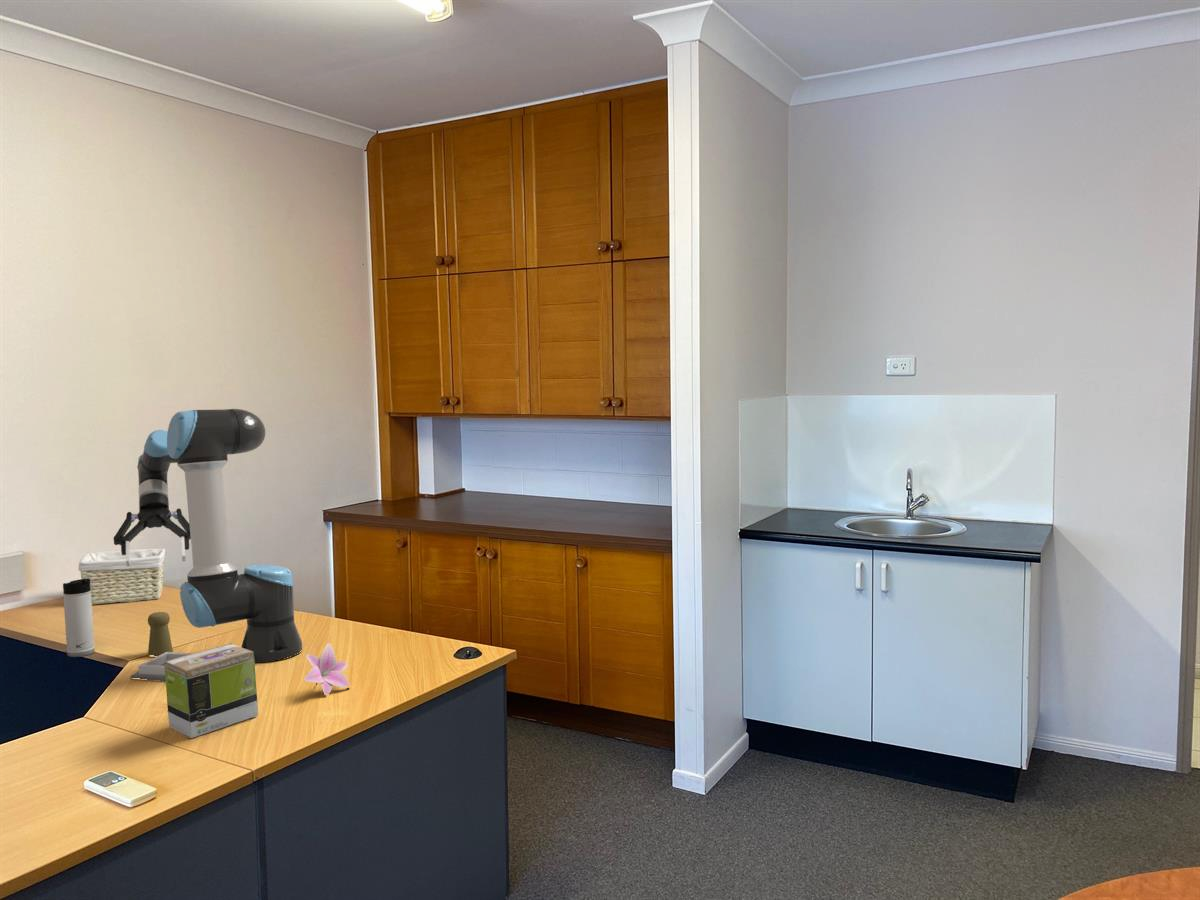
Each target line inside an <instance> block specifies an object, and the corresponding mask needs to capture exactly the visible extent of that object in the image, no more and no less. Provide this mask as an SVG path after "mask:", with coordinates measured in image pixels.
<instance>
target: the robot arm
mask: <svg viewBox="0 0 1200 900" xmlns="http://www.w3.org/2000/svg"><path fill="white" fill-rule="evenodd" d="M265 437H266V427H265V425H264V423H263V421H262V420H261V418H260V417H258V416H257V415H256V414H254V413H253V412H250V411H248V410H244V409H239V408H229V409H227V408H226V409H225V408H224V409H192V410H191V409H190V410H184V411H178V412H176V413H175V414H174V415H172V417H171V419H170V421H169V424H168V428H167V430H164V429H157V430H153V431H152V432H150V434H148V436H147V438H146V441H145V443H144V445H143V446H144V447H143V452H142V453H141V455H140V456H139V457H138V461H137V471H138V472H137V473H138V500H139V501H138V505H139V506H138V511H139V512H138V513H132V512H131V511H128V512H126V517H125V519H124V521H123V522H122V524H121V526H119V527H120V528H119V529H118V530H117V532H116V534H115V535H114V536H113V545H115V546H118V545H119V546H120V547H121V548H120V549H121V550H120V551H121V553H122V555H126V564H127V567H129V566H130V550H131V549H130V542H132V541H133V540H134V539H135V537H137V536H138V535H139V534H140V533H141V532H142V531H144V530H145V529H146V528H148V529H153V528H162V527H164V528H166V529H169V530H170V531H171V532H172V533H173V534H175V535H176V536H178V537H179V538H180V540H181V542H180V543H181V557H182V558H181V559H182V562H186V550H187V551H188V550H190V545H191V557H192V567H191V570H190V571H189V572H188V573H187V574H186V575H187V581H186V582H184V583H182V584H181V585H180V591H179V595H180V602H181V605H182V610H183V612H184V615H185V616H186V619H187V620H188V622H189V624H191V625H192V626H193V627H195V628H208V627H216V626H217V625H224V624H229V623H235V622H239V621H245V620H246V630H245V633H244V637H243V639H242V642H241V643H242V644H241V646H240V647H241V648H244V649H247V650H250V651H253V652H254V661H255V663H256V662H257V663H266V662H268V661H270V662H274V661H273V660H278V661H280V660H279V659H283V660H285V659H284V658H287V657H290V656H293V655H295V654H297V653H299V652H300V651H301V650H302V651H303V641H302V638H301V636H300V633H299V631H298V628H297V626H296V623H295V609H294V608H295V607H294V586H295V585H294V582H293V574H292V571H291V569H289V568H288V567H285V566H281V565H274V564H254V565H248V566H246V567H245V568H244V570H243V573H240V574H239V573H238V568H237V567H236V566H235V565H233V564H232V563H231V559H230V558H231V557H230V546H229V535H228V534H229V533H228V525H227V523H228V521H227V513H226V511H227V510H226V500H225V490H224V489H225V488H224V479H223V478H224V477H223V468H224V466H226V464H227V463H228V461H229V459H228V456H229V455H237V454H245V453H249V452H253V451H254V450H256V449H258V448H259V447H260V446H261V445H262V443H263V442H264V441H265ZM176 463H177V467H178V468H180V469H181V470H183V471H184V478H185V480H184V481H185V490H186V499H187V510H188V520H187V519H186V517H185V516H184V515H183V513H182V512H183V511H182V509H181V508H177V509H176V510H174V511H170V504H169V503H170V502H169V500H170V499H169V486H168V473H169V469H170V465H171V464H176ZM172 517H173V519H175V520H177V522H178V523H179V525H180V526H181V527H182V528H181V527H180V526H179V525H178V524H176V523H175V522H174V521H173V520H172V519H171V518H172ZM136 520H138V521H137V523H136V524H135V525H134V526H133V527H132V528H131V529H130V527H131V526H132V523H134V522H135V521H136ZM129 529H130V530H129ZM302 651H301V652H302ZM301 652H300V653H301ZM300 653H299V654H300ZM297 655H298V654H297ZM295 656H296V655H295ZM293 657H294V656H293ZM290 658H291V657H290ZM287 659H288V658H287Z"/></svg>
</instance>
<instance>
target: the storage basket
mask: <svg viewBox="0 0 1200 900" xmlns="http://www.w3.org/2000/svg"><path fill="white" fill-rule="evenodd" d="M165 557H166V549H165V548H141V549H139V548H138V549H130V566H129V567H127V564H126V555H122V553H121V550H108V551H107V550H106V551H98V552H97V551H95V552H87V553H86V554H85V555H84V556H82V558H81V559H80V560H79V563H78V571H79V572H80V579H90V589H91V601H92V606H94V605H100V604H102V605H103V604H114V603H124V602H125V603H131V602H137V601H151V600H158V599H160V598H161V595H162V592H163V591H164V590H163V586H164V585H163V584H164V580H163V579H164V574H163V573H164V572H165V571H164V560H165Z"/></svg>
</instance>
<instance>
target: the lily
mask: <svg viewBox="0 0 1200 900" xmlns="http://www.w3.org/2000/svg"><path fill="white" fill-rule="evenodd" d="M305 656H306V658H307V660H308V661H309V663H310V664H311V666H312V668H311V669H310V670H309V672H307V674H306V675H305V676H304V678H303V681H305V682H307V683H308V682H309V683H315V685H316V686H317V685H318V684H319V683H320V684H321V688H322V690H323V691H322V692H323V693H324V695H325V694H328V693H331V691H332V690H333V686H335V687H339V688H342V689H345V688H344V687H346V686H348V685H351V683H350V682H349V680H348V678H347V677H346V675H345V674H344V673H343V671H345V670H346V668H347V667H348V665H349V663H348V662H346V661H343V660H342V661H341V660H340V661H339V660H337V656H336V653H335V650H334V648H333V646H332V645H331V643H330V642H328V643H327V644H326V645H325V647H324V649H323V652H322V654H321V655H320V657H319V656H315V655H313V654H309V653H306V654H305Z"/></svg>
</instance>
